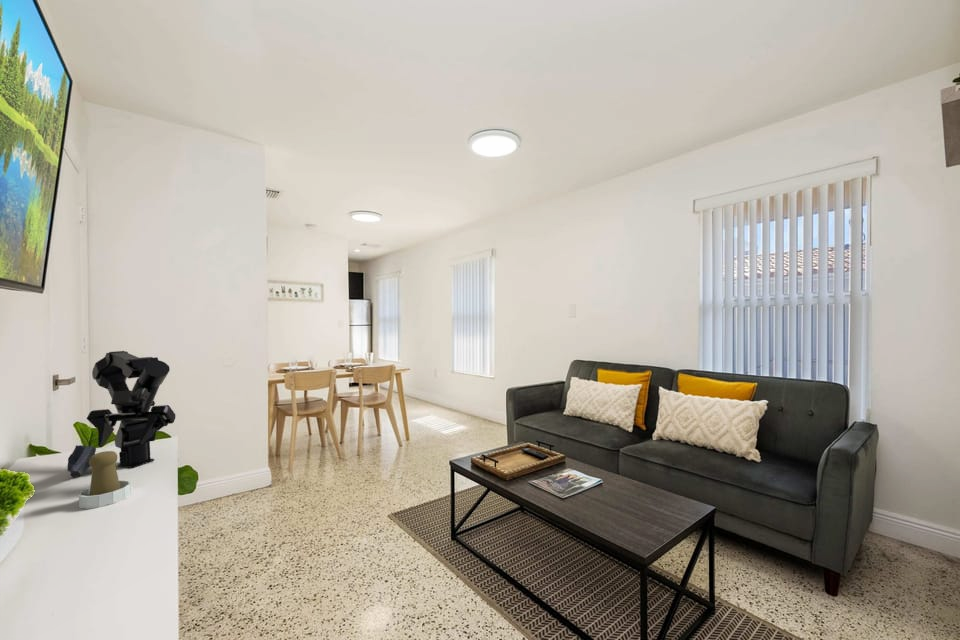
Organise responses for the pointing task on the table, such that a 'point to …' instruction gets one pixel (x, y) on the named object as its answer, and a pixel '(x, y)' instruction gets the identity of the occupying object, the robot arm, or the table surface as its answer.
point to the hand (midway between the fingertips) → (120, 445)
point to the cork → (103, 473)
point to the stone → (80, 460)
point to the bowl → (104, 496)
